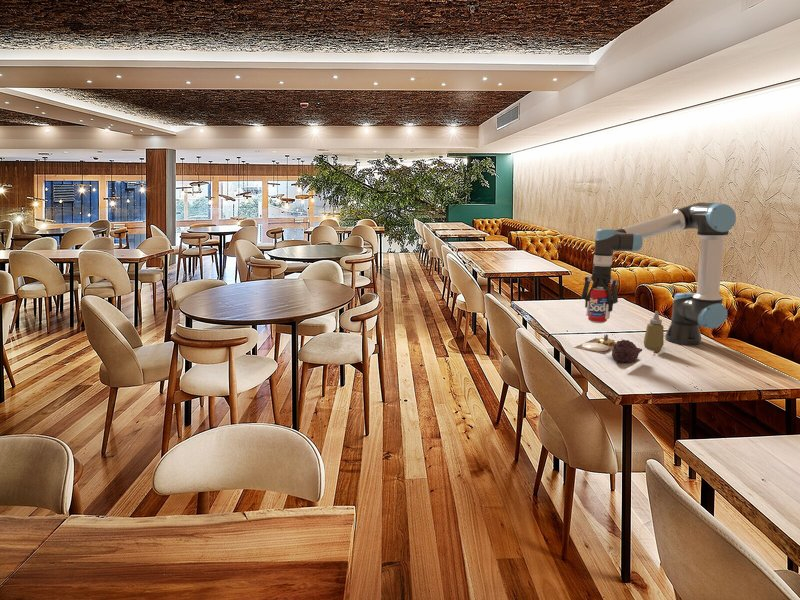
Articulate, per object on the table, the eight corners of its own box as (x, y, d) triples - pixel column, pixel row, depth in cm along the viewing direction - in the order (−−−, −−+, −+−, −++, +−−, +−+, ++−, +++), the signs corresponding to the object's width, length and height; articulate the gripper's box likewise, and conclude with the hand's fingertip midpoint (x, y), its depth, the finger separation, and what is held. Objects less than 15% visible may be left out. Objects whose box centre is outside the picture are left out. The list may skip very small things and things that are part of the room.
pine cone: (622, 371, 210) (624, 346, 208) (600, 364, 218) (602, 341, 216) (646, 363, 221) (649, 339, 219) (624, 356, 228) (626, 334, 226)
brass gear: (617, 343, 243) (617, 334, 243) (610, 346, 238) (610, 337, 237) (600, 339, 249) (601, 331, 248) (593, 343, 243) (594, 334, 242)
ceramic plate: (612, 347, 236) (612, 346, 236) (602, 353, 228) (602, 351, 228) (588, 342, 244) (589, 341, 243) (577, 347, 236) (577, 346, 236)
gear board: (624, 347, 242) (625, 344, 242) (604, 357, 227) (604, 354, 227) (595, 341, 252) (595, 338, 252) (573, 350, 236) (573, 347, 236)
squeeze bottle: (664, 354, 232) (669, 314, 229) (645, 353, 234) (649, 313, 230) (659, 349, 240) (664, 310, 236) (640, 348, 242) (644, 309, 238)
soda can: (604, 319, 237) (607, 286, 234) (609, 324, 229) (612, 289, 226) (585, 319, 238) (588, 286, 235) (590, 323, 230) (593, 289, 227)
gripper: (575, 263, 233) (571, 314, 237) (623, 268, 219) (617, 322, 223) (583, 261, 238) (579, 311, 243) (630, 266, 224) (625, 319, 229)
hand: (597, 316), depth 233 cm, fingers closed on soda can, 8 cm apart
